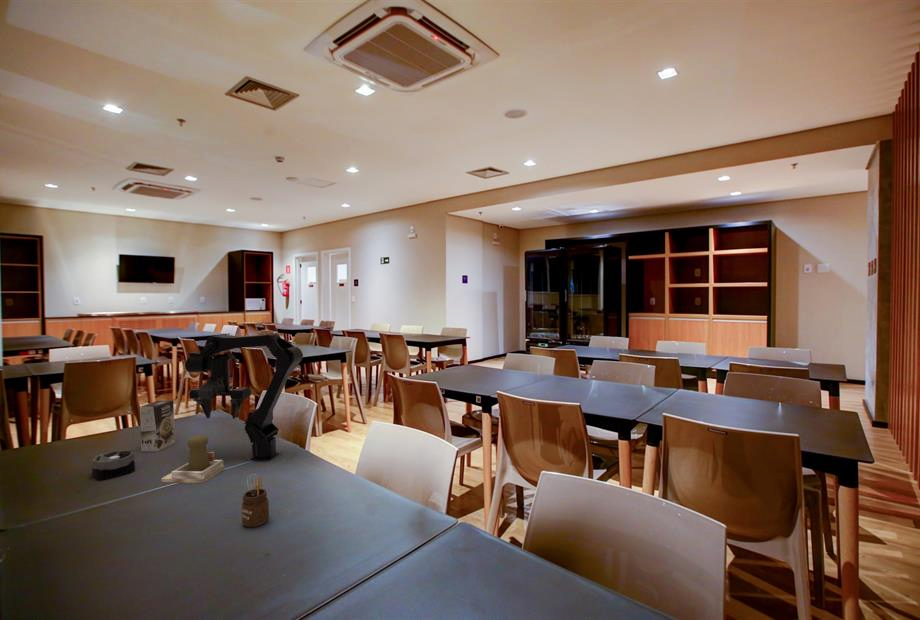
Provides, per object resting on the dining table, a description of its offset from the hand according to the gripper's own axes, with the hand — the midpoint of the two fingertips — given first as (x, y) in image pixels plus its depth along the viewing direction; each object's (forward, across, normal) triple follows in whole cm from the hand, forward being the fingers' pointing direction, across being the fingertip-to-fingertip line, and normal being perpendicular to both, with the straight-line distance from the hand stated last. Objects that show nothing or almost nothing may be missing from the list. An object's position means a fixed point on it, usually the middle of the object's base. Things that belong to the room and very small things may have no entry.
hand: (221, 418), depth 148 cm
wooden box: (+13, +1, -16) cm, 20 cm away
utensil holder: (+13, +35, -40) cm, 55 cm away
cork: (+12, +3, -15) cm, 20 cm away
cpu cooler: (+14, -26, -15) cm, 33 cm away
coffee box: (+13, -29, +7) cm, 33 cm away
